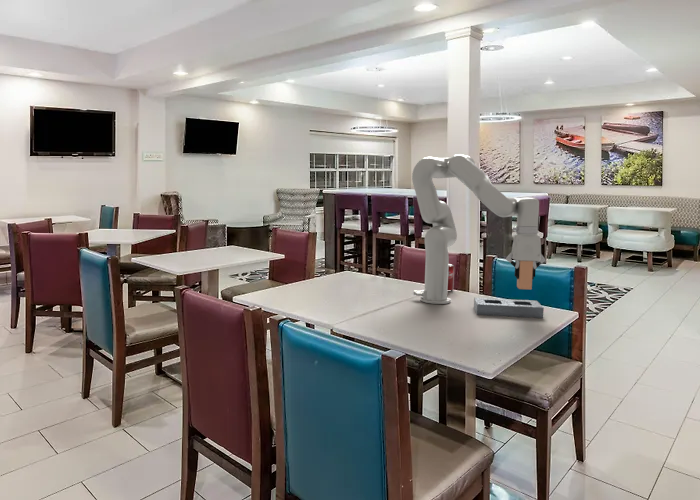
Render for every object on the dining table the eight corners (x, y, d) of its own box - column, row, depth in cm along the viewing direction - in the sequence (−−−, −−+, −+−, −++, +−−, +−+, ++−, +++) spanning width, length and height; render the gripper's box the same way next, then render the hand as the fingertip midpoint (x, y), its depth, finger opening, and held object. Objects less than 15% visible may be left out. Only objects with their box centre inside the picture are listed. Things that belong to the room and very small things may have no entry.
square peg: (519, 289, 191) (520, 257, 190) (516, 286, 196) (518, 256, 195) (531, 289, 191) (533, 257, 189) (529, 287, 195) (530, 256, 194)
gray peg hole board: (476, 314, 191) (477, 304, 191) (473, 307, 203) (474, 297, 203) (543, 318, 188) (543, 307, 187) (536, 310, 200) (536, 300, 199)
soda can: (453, 292, 233) (454, 266, 231) (437, 291, 234) (438, 265, 233) (453, 289, 240) (454, 264, 238) (437, 288, 241) (438, 263, 240)
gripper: (505, 231, 188) (503, 279, 190) (553, 232, 186) (550, 281, 188) (502, 229, 196) (500, 276, 198) (548, 230, 193) (545, 277, 195)
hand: (524, 278), depth 193 cm, fingers closed on square peg, 4 cm apart
